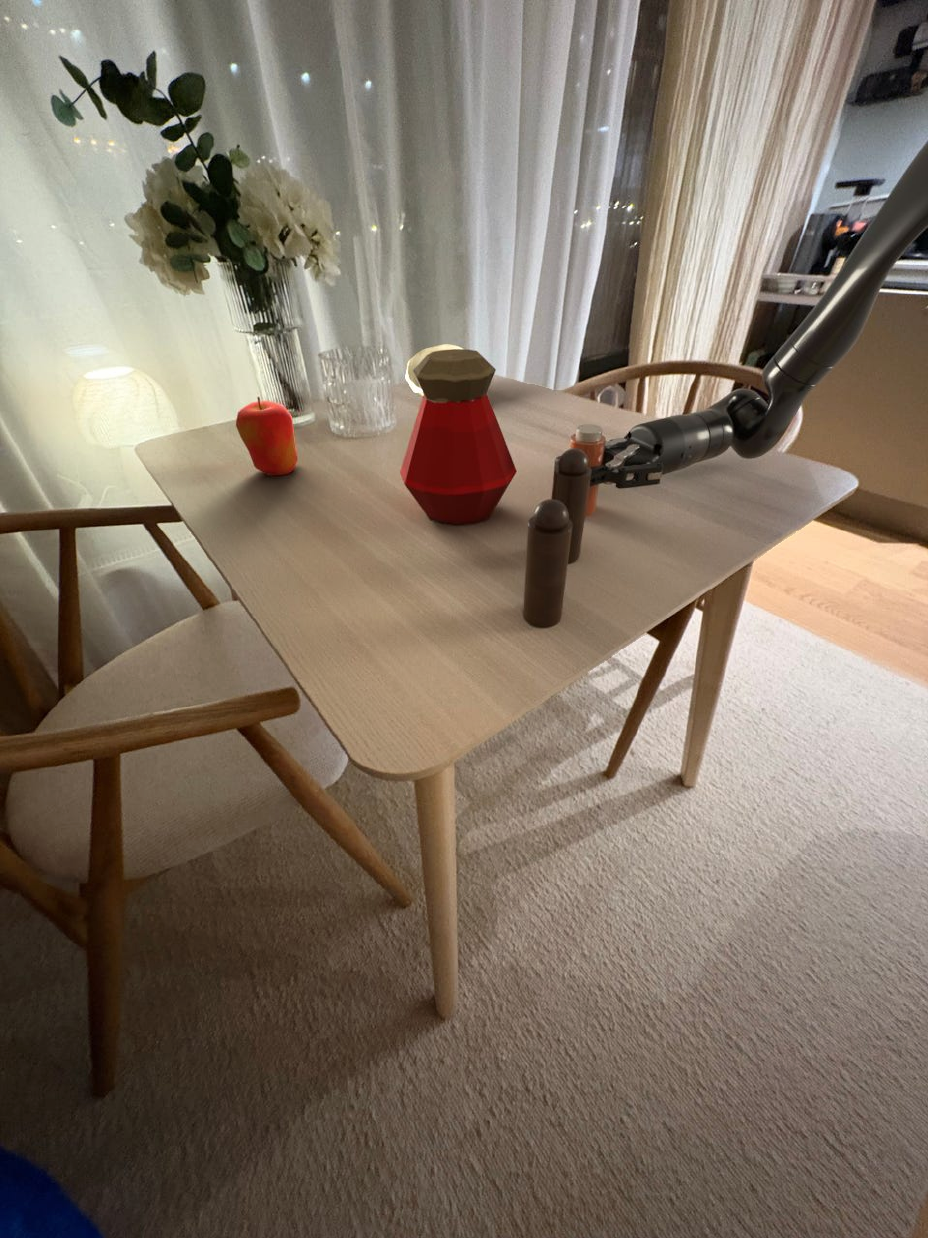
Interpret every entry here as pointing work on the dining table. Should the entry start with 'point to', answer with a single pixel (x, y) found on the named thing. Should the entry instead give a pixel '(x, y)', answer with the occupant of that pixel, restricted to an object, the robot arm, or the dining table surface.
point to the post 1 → (546, 563)
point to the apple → (268, 436)
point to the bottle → (456, 441)
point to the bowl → (417, 359)
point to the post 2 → (573, 493)
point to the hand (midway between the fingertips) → (567, 472)
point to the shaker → (590, 454)
